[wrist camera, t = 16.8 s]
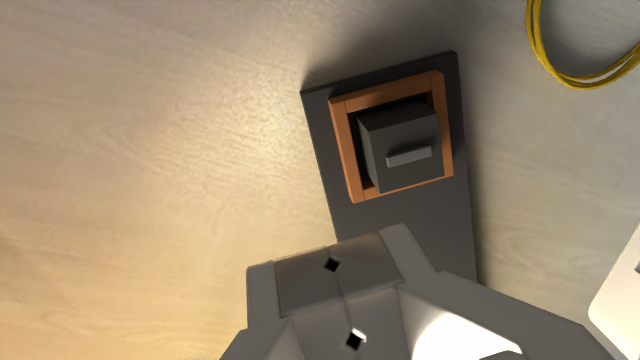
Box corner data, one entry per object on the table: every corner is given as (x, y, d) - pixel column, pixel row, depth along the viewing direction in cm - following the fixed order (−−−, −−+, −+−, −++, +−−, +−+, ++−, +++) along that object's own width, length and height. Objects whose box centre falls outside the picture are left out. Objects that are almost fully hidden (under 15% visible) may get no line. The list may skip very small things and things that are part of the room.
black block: (366, 172, 37) (381, 197, 33) (354, 114, 35) (369, 133, 31) (425, 155, 38) (447, 178, 34) (417, 97, 35) (440, 114, 31)
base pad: (299, 91, 35) (303, 100, 32) (452, 49, 35) (466, 56, 33) (372, 379, 49) (378, 399, 47) (479, 346, 50) (491, 364, 47)
